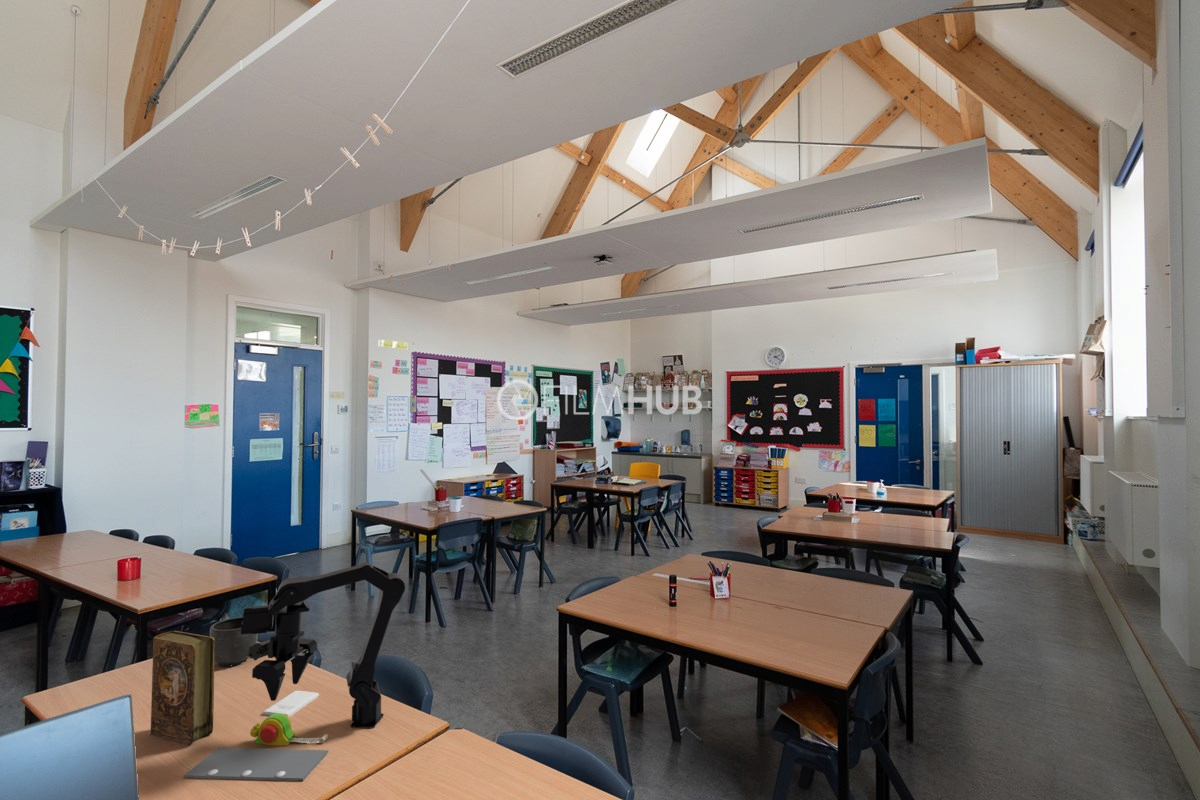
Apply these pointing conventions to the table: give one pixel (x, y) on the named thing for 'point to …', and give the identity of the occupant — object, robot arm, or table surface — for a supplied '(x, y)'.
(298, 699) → the external hard drive
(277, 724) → the toy measuring tape
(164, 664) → the book
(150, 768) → the table surface
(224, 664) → the planter
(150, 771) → the table surface
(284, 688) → the table surface
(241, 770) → the marked mat
